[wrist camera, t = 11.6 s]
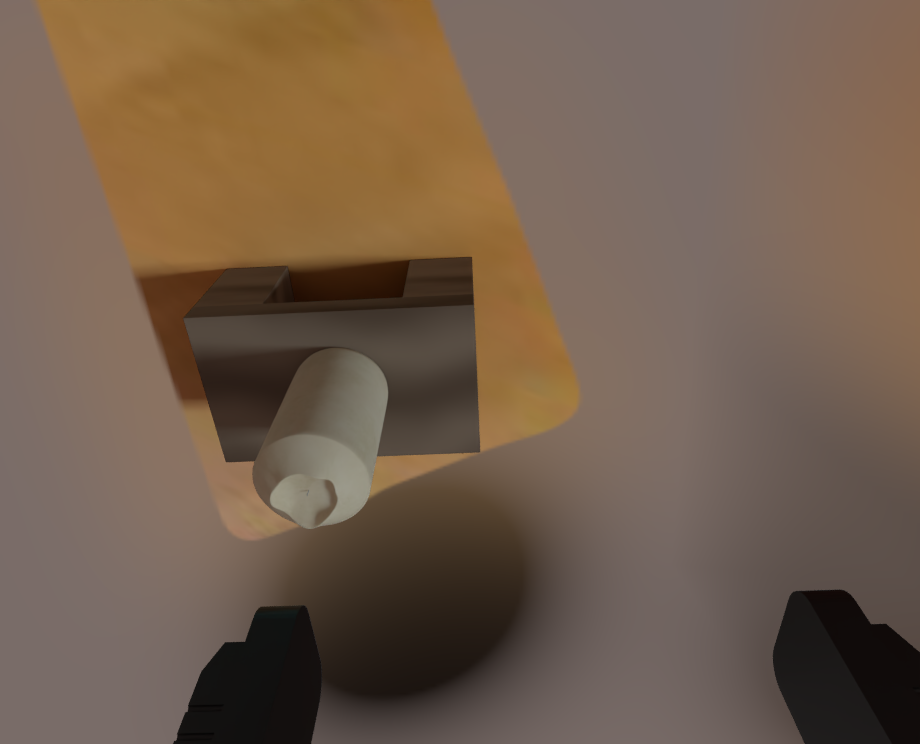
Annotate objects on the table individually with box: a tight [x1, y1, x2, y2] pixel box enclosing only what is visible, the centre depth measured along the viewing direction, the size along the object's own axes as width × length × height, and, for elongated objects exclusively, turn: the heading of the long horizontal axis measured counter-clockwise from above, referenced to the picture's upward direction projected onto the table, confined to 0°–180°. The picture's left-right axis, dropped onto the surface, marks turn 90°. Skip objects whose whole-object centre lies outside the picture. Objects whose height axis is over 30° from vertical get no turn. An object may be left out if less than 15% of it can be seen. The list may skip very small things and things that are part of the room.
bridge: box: [183, 257, 480, 462], centre depth 41 cm, size 10×16×8 cm, turn 93°
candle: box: [252, 348, 388, 529], centre depth 33 cm, size 6×6×10 cm
